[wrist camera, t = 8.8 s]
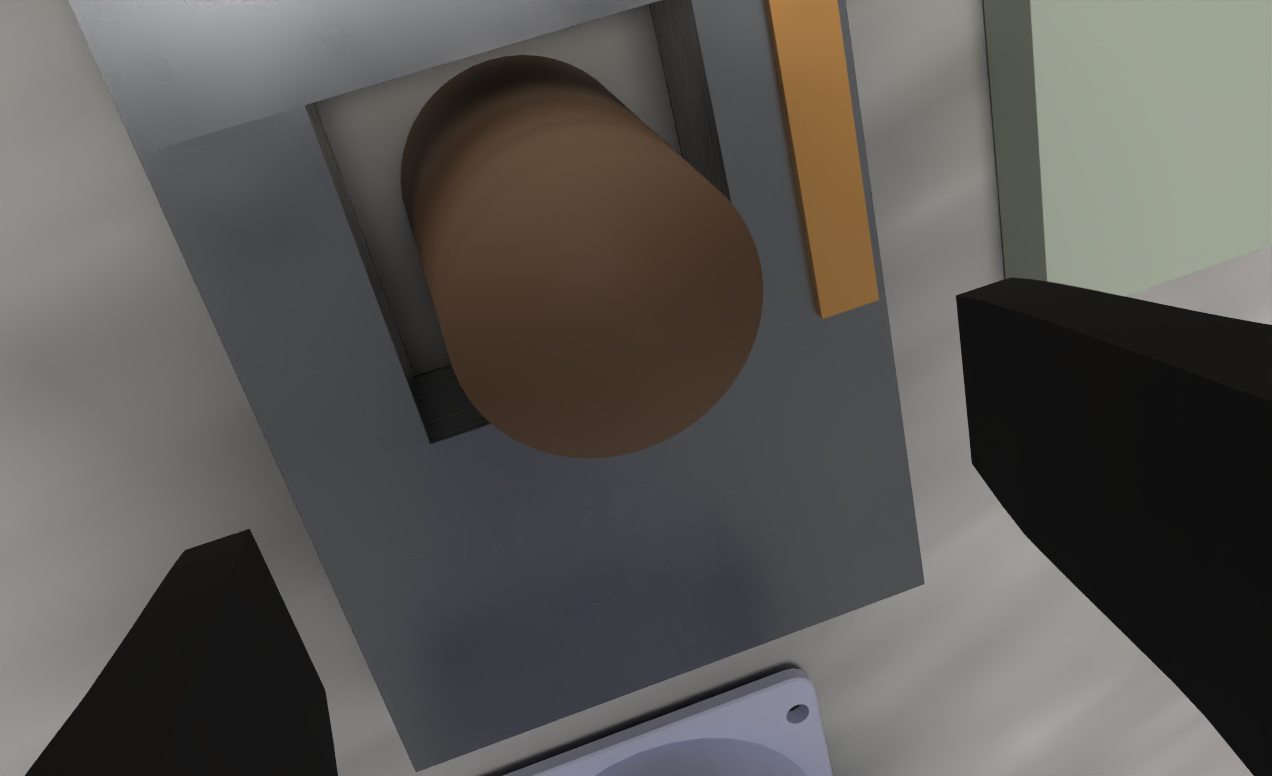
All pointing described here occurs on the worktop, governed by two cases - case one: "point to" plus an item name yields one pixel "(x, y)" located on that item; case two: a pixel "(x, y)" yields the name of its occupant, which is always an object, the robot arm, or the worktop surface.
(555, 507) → the hole plate
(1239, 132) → the pad
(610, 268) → the peg
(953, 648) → the worktop surface
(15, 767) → the worktop surface
